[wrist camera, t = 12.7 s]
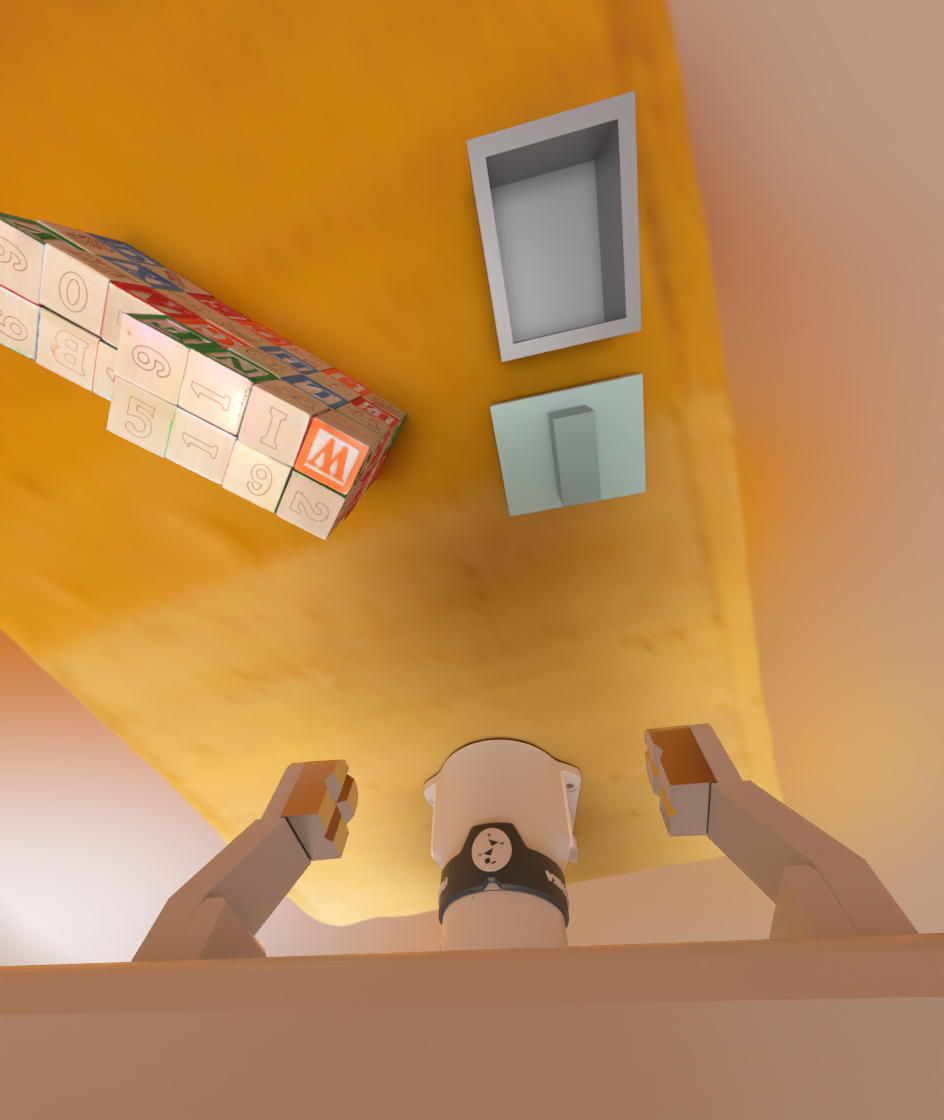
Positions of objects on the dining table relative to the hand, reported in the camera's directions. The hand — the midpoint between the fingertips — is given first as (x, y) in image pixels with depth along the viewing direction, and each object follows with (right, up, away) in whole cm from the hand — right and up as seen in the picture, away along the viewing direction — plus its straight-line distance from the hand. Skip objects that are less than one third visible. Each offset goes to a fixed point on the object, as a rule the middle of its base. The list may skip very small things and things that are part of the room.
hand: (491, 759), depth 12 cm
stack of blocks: (-16, +19, +20) cm, 32 cm away
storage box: (+4, +25, +16) cm, 30 cm away
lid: (+7, +14, +22) cm, 27 cm away
